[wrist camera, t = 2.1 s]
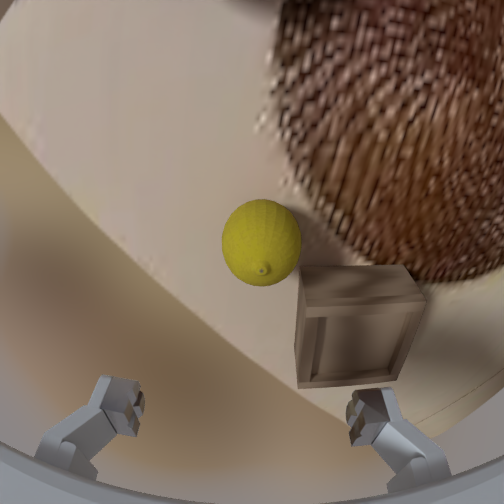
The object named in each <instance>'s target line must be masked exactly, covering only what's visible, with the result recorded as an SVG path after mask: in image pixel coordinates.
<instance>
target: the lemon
mask: <svg viewBox="0 0 504 504" xmlns="http://www.w3.org/2000/svg"><path fill="white" fill-rule="evenodd" d="M222 251H223V255H224V258H225V261H226V264H227V266H228V267H229V269H230V270H231V272H232V273H233V274H234V275H235V276H236V277H237V278H238V279H240V280H242V281H243V282H245V283H247V284H250V285H253V286H270V285H273V284H276V283H278V282H280V281H282V280H283V279H285V278H286V277H287V276H288V275H289V274H290V273H291V272H292V271H293V269H294V267H295V266H296V264H297V262H298V259H299V256H300V252H301V232H300V229H299V226H298V223H297V221H296V220H295V218H294V217H293V215H292V214H291V212H290V211H288V210H287V209H286V208H285V207H284V206H282V205H281V204H279V203H277V202H275V201H270V200H266V199H262V200H253V201H249V202H247V203H245V204H243V205H241V206H240V207H238V208H237V209H236V210H235V211H234V212H233V213H232V214H231V216H230V217H229V219H228V221H227V222H226V224H225V227H224V231H223V234H222Z"/></svg>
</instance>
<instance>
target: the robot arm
mask: <svg viewBox="0 0 504 504" xmlns="http://www.w3.org/2000/svg"><path fill="white" fill-rule="evenodd" d="M140 387H141V386H140V383H139V381H135V380H129V379H123V378H118V377H114V376H108V375H102V376H101V377H100V378H99V380H98V382H97V384H96V387H95V389H94V391H93V394H92V396H91V399H90V401H89V403H88V405H87V406H86V405H84V406H82V407H81V408H80V409H78V410H77V411H75V412H74V413H72V414H71V415H69V416H68V417H67V418H65V419H64V420H62V421H61V422H59V423H58V424H56V425H55V426H53V427H52V428H51V429H49V430H48V431H46V432H45V433H44V435H43V437H42V440H41V442H40V444H39V447H38V449H37V451H36V454H35V456H34V457H32V456H29V455H27V454H25V453H23V452H21V451H18V450H17V449H15V448H13V447H11V446H9V445H6V444H5V443H3V442H1V441H0V504H213V503H203V502H195V501H187V500H180V499H173V498H167V497H161V496H156V495H151V494H146V493H142V492H137V491H133V490H128V489H124V488H120V487H116V486H113V485H109V484H106V483H102V482H99V481H96V477H97V474H98V471H97V469H96V468H95V467H94V466H93V465H92V464H91V463H90V459H92V458H93V457H94V456H95V455H96V454H97V453H98V452H99V451H100V450H101V449H102V448H103V447H104V446H106V445H107V444H108V443H109V442H110V441H111V440H112V439H113V438H114V437H115V436H116V435H117V434H122V435H128V436H133V437H137V433H138V429H139V426H140V422H139V420H138V418H139V417H141V416H142V415H143V412H144V407H145V398H144V394H143V393H142V392H141V391H140ZM346 420H347V424H348V425H349V426H350V427H351V430H350V432H349V436H350V441H351V446H362V445H371V446H372V447H373V448H374V449H375V451H376V452H377V453H378V454H379V455H380V456H381V457H382V458H383V460H384V461H385V462H386V463H387V464H388V465H389V466H390V467H391V469H392V470H393V471H394V472H395V473H396V476H394V477H393V478H392V479H391V480H390V481H389V482H388V483H387V489H388V494H383V495H378V496H372V497H367V498H361V499H355V500H347V501H340V502H331V503H321V504H504V455H502V456H500V457H498V458H496V459H494V460H491V461H489V462H487V463H484V464H482V465H480V466H477V467H474V468H472V469H469V470H467V471H464V472H461V473H458V474H456V475H453V476H452V475H451V472H450V469H449V465H448V462H447V459H446V456H445V453H444V451H443V449H441V448H440V447H439V446H438V445H436V444H435V443H434V442H433V441H432V440H431V439H429V438H428V437H427V436H426V435H425V434H423V433H422V432H421V431H420V430H419V429H417V428H416V427H415V426H414V425H413V424H411V423H410V422H409V421H408V420H407V419H403V418H402V415H401V412H400V409H399V406H398V403H397V400H396V397H395V394H394V391H393V389H392V388H391V387H384V388H371V389H361V390H355V391H353V393H352V400H351V401H349V402H348V405H347V408H346ZM116 433H117V434H116Z"/></svg>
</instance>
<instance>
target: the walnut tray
mask: <svg viewBox="0 0 504 504" xmlns="http://www.w3.org/2000/svg"><path fill="white" fill-rule="evenodd" d="M426 303H427V300H426V299H425V297H424V296H423V294H422V293H421V291H420V289H419V288H418V286H417V285H416V283H415V282H414V280H413V279H412V277H411V276H410V274H409V273H408V271H407V270H406V268H405V267H404V265H364V266H300V271H299V288H298V304H297V318H296V331H295V343H294V349H295V360H296V372H297V384H298V389H307V388H326V387H340V386H352V385H362V384H372V383H380V382H388V381H396V380H397V378H398V375H399V373H400V371H401V368H402V366H403V364H404V361H405V359H406V357H407V354H408V352H409V349H410V347H411V344H412V342H413V339H414V336H415V334H416V331H417V328H418V326H419V323H420V320H421V317H422V314H423V311H424V309H425V306H426Z"/></svg>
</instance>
